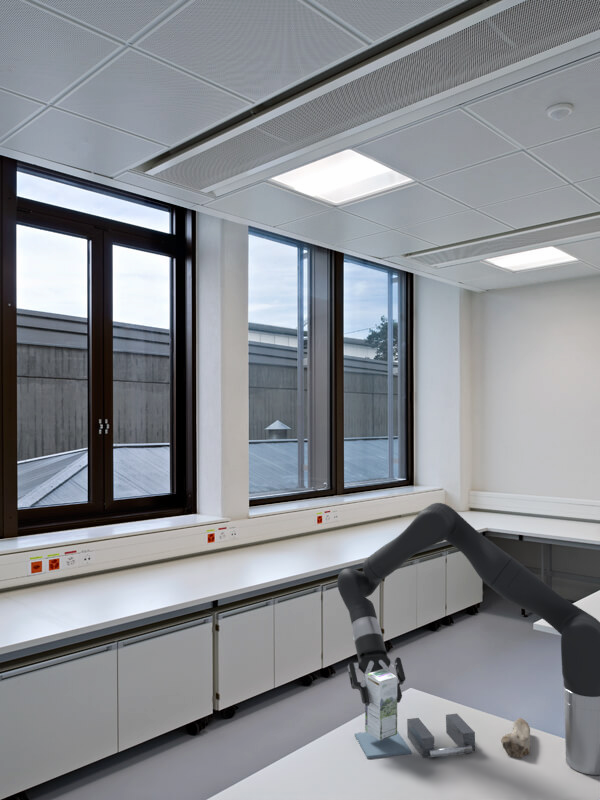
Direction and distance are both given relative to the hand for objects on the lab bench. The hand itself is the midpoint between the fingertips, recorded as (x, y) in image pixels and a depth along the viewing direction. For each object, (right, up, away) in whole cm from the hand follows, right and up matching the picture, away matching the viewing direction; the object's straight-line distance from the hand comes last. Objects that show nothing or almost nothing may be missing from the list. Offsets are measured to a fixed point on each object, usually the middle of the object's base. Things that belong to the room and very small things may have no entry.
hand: (383, 703), depth 155 cm
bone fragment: (+33, -11, 0) cm, 34 cm away
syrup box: (0, -8, +1) cm, 8 cm away
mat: (0, -11, +1) cm, 11 cm away
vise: (+14, -10, +1) cm, 18 cm away
